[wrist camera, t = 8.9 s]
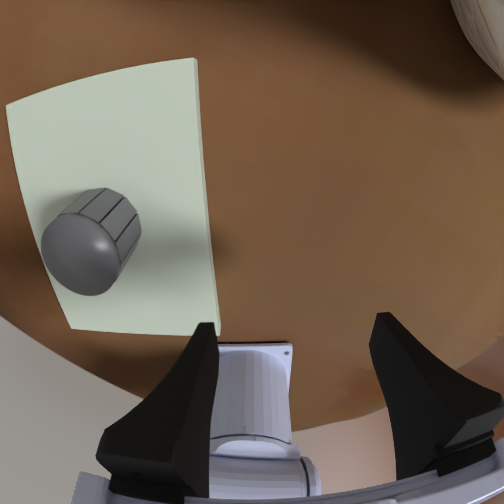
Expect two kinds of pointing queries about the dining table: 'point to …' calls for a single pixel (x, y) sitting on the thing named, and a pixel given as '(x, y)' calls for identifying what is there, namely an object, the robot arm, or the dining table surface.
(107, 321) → the post board
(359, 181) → the dining table surface
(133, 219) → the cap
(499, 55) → the vase
